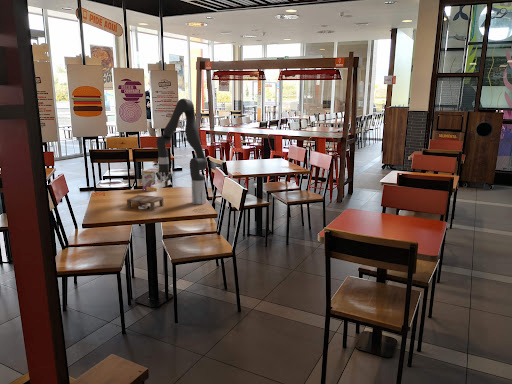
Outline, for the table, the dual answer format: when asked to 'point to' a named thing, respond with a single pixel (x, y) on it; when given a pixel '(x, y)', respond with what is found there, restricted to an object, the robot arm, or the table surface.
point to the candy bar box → (148, 178)
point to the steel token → (142, 207)
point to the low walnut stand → (145, 201)
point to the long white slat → (157, 186)
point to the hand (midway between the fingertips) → (164, 185)
